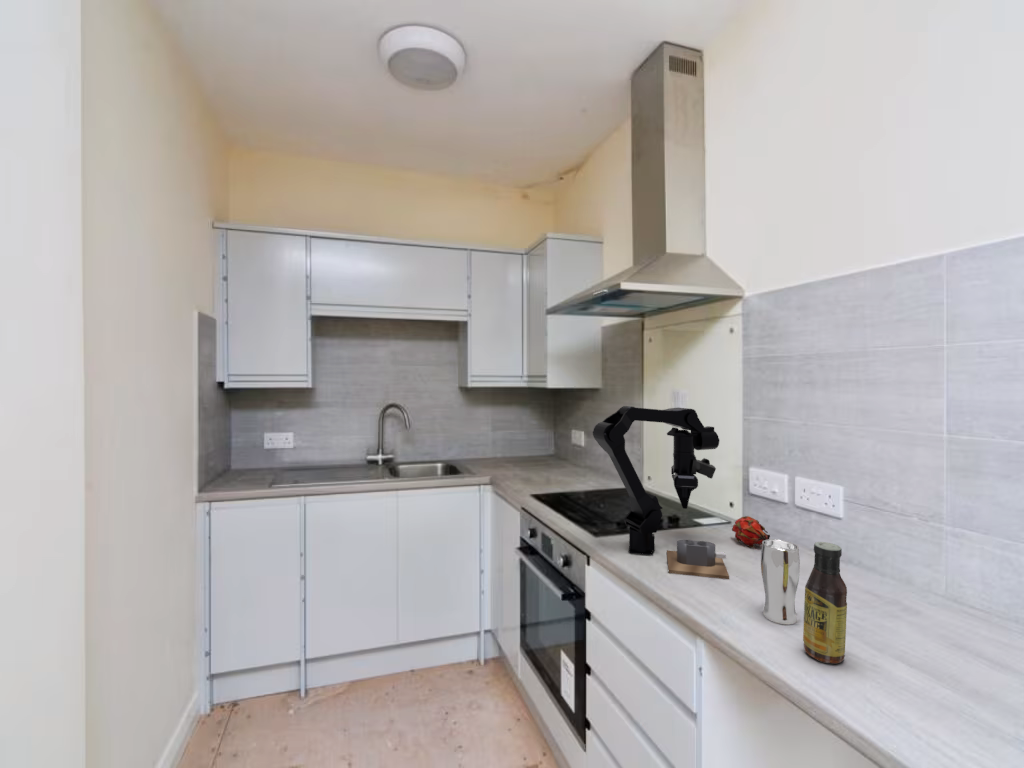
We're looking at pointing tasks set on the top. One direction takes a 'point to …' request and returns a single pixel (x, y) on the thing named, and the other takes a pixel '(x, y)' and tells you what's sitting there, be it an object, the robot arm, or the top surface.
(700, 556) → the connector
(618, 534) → the top surface
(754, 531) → the dragon fruit
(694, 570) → the board
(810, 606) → the sauce bottle
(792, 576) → the beer glass
